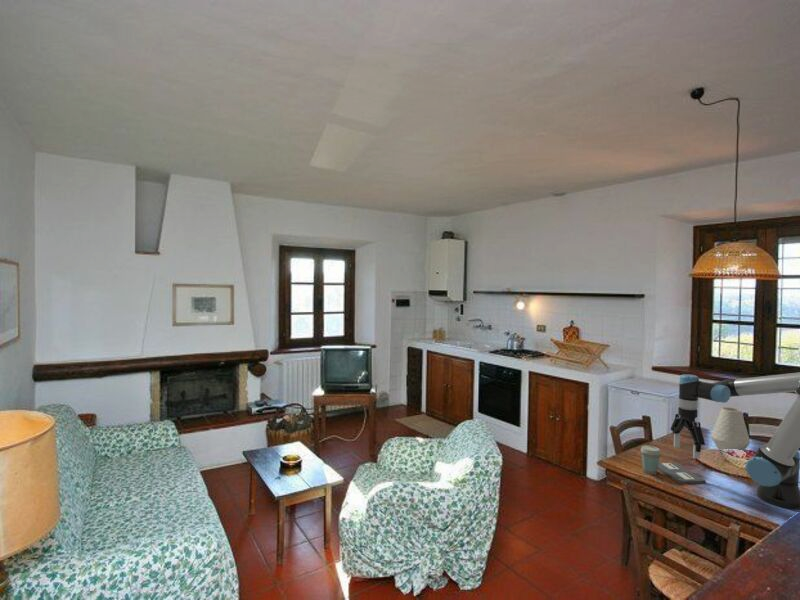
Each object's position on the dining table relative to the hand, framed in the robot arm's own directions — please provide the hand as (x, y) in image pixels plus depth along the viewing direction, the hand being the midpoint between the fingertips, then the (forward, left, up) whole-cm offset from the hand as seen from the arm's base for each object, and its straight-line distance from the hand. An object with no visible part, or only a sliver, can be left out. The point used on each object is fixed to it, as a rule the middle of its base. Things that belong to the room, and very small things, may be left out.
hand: (686, 452), depth 209 cm
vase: (+35, -49, -13) cm, 61 cm away
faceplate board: (+6, 0, -13) cm, 14 cm away
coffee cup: (+8, +12, -13) cm, 19 cm away
